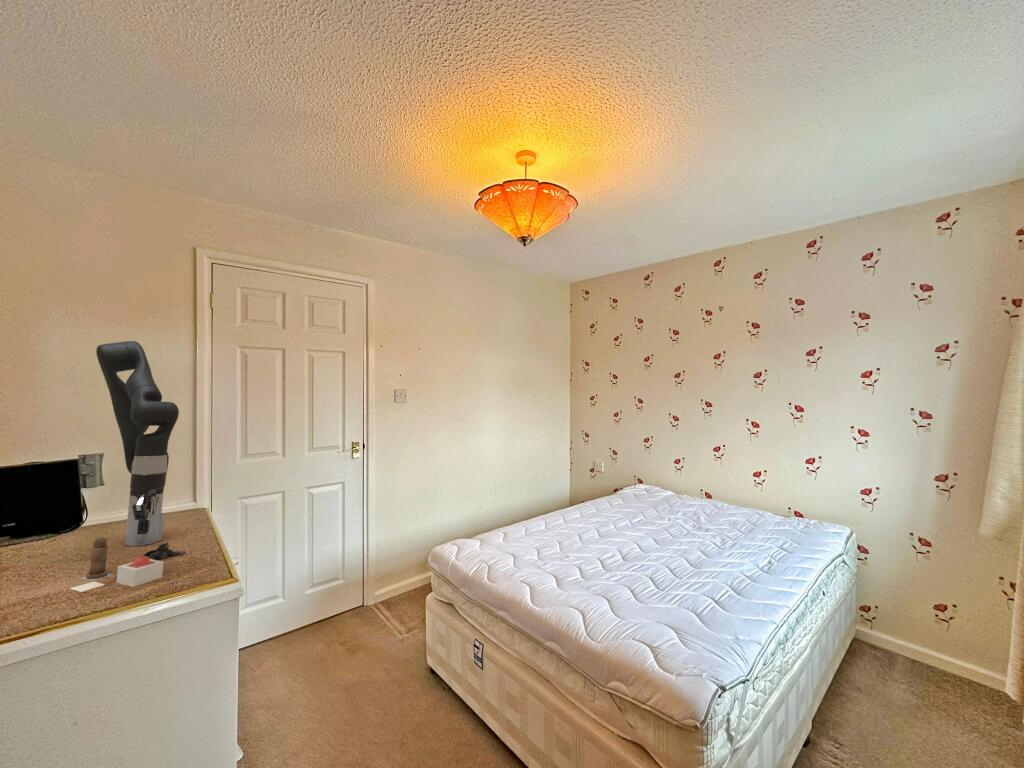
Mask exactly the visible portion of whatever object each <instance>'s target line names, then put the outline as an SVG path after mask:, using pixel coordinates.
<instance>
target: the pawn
mask: <svg viewBox="0 0 1024 768" xmlns="http://www.w3.org/2000/svg"><path fill="white" fill-rule="evenodd" d="M108 549H109V545H108V539H107V538H106V537H103V536H100V537H98V538H96V539H95V540H94V541H93V546H92V547H91V554H90V555H91V556H90V565H89V572H87V573H86V574H85V576H86V579H97V578H100V579H103V578H102V577H104V578H106V577H105V576H107V575H108V573H109V570H108V569H106V568H107V567H106V566H107V559H108V558H107V557H108ZM107 577H108V576H107ZM97 580H98V579H97Z"/></svg>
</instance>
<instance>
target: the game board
mask: <svg viewBox="0 0 1024 768" xmlns="http://www.w3.org/2000/svg"><path fill="white" fill-rule="evenodd" d="M113 575H114V574H113V573H111V572H110V573H109V572H108V575H107V576H105V577H102V578H97V579H86V575H85V576H82V577H81V579H83V580H85V581H90V582H86V583H84V584H80V585H77V586H74V587H70V588H69V590H73V591H77V592H81V593H83V592H87V591H89V590H93V589H96V588H98V587H102V586H105V585H106V584H104V583H100V582H97V581H96V580H99V579H104V578H106V577H110V576H113Z"/></svg>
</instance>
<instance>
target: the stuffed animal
mask: <svg viewBox="0 0 1024 768" xmlns="http://www.w3.org/2000/svg"><path fill="white" fill-rule="evenodd" d="M169 548H170V545H169V543H168V542H162V543H160V544H159V545H158V546H157V548H156V549H153V550H150V551H148V552H146V553H144V554H143V555H142V556H147V557H148V558H149V559H153V560H158V561H162V560H164V559H166V558H167V557H169V558H172V557H183V556H184V555H186V554H187V551H186V550H183V549H182V550H176V551H174V550H172V549H169ZM164 566H165V564H163V567H164Z"/></svg>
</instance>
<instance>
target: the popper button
mask: <svg viewBox="0 0 1024 768" xmlns="http://www.w3.org/2000/svg"><path fill="white" fill-rule="evenodd" d="M132 562H133V563H132ZM132 562H131V563H132V567H135V568H139V567H142V566H146V565H149V564H151V561H150V559H149V558H148V557H147V556H143V555H141V556H137V557H136V558H135V559H134V560H133V561H132Z"/></svg>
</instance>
